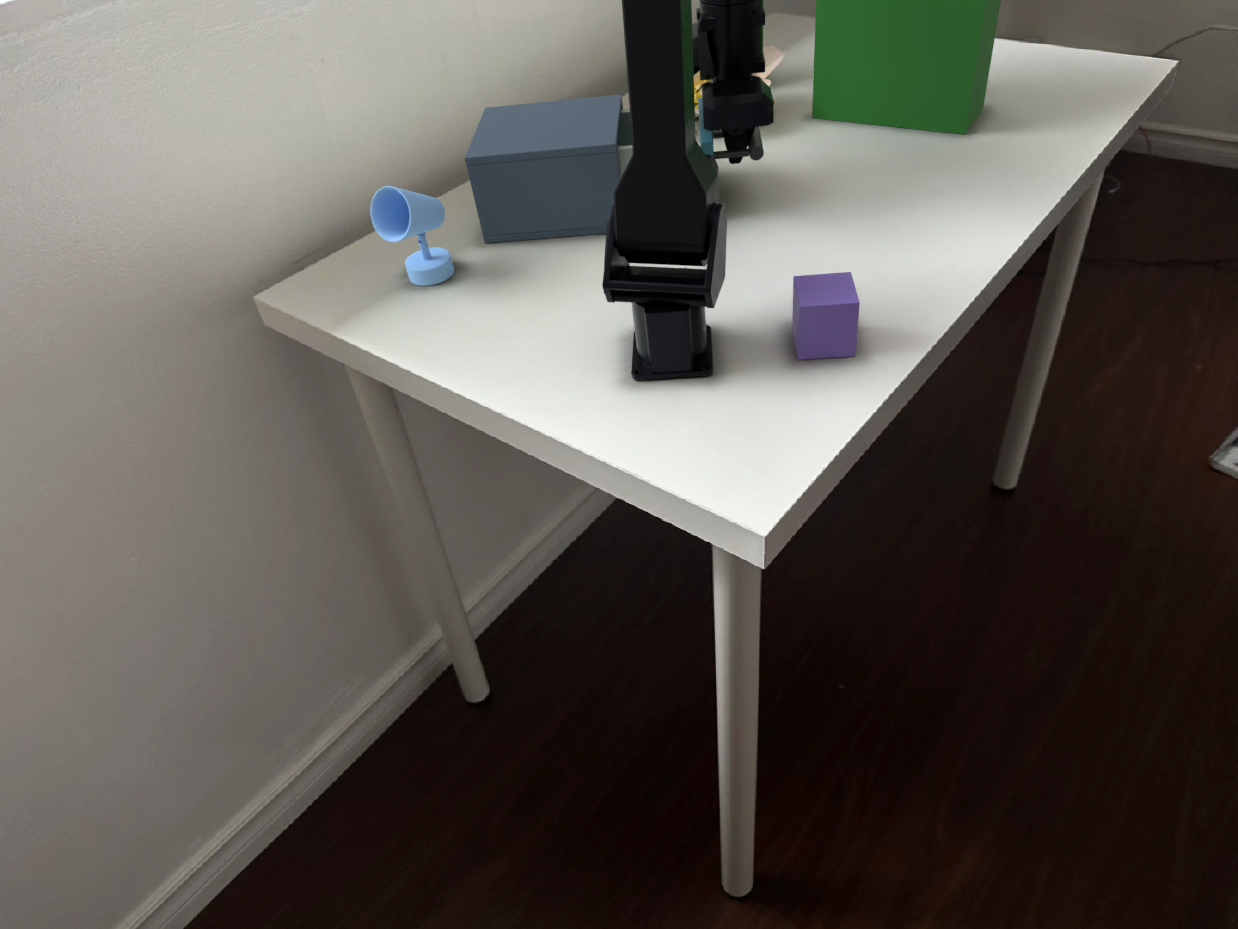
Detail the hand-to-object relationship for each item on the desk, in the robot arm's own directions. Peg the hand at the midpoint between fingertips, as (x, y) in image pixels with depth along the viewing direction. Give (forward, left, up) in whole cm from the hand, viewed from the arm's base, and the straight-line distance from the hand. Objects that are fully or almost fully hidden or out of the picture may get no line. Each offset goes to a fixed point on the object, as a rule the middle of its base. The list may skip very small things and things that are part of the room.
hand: (735, 162), depth 90 cm
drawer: (0, +6, -2) cm, 7 cm away
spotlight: (-12, +31, -4) cm, 33 cm away
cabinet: (0, +19, -3) cm, 19 cm away
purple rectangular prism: (-28, -6, -3) cm, 28 cm away
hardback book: (+17, -19, -4) cm, 26 cm away
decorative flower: (+20, +2, -4) cm, 20 cm away
